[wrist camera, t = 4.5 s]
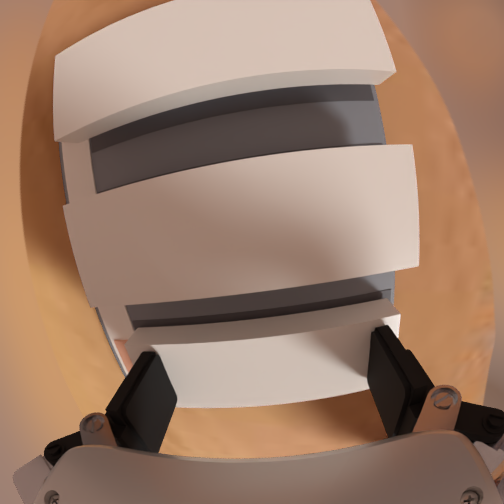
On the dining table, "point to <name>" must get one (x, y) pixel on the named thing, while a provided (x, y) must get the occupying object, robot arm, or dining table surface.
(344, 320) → the switch
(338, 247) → the middle switch
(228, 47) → the switch
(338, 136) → the switch board
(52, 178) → the dining table surface
